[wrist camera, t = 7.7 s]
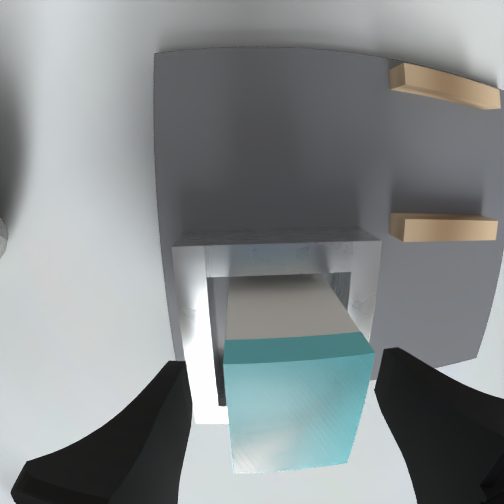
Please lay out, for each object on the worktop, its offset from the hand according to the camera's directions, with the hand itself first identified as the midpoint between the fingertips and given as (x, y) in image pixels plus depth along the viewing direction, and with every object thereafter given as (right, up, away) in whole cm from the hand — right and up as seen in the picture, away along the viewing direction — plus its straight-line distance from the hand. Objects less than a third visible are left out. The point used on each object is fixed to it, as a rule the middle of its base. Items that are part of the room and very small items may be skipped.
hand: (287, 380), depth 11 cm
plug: (0, +1, +4) cm, 5 cm away
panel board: (+4, +6, +4) cm, 8 cm away
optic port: (0, +1, +4) cm, 5 cm away
